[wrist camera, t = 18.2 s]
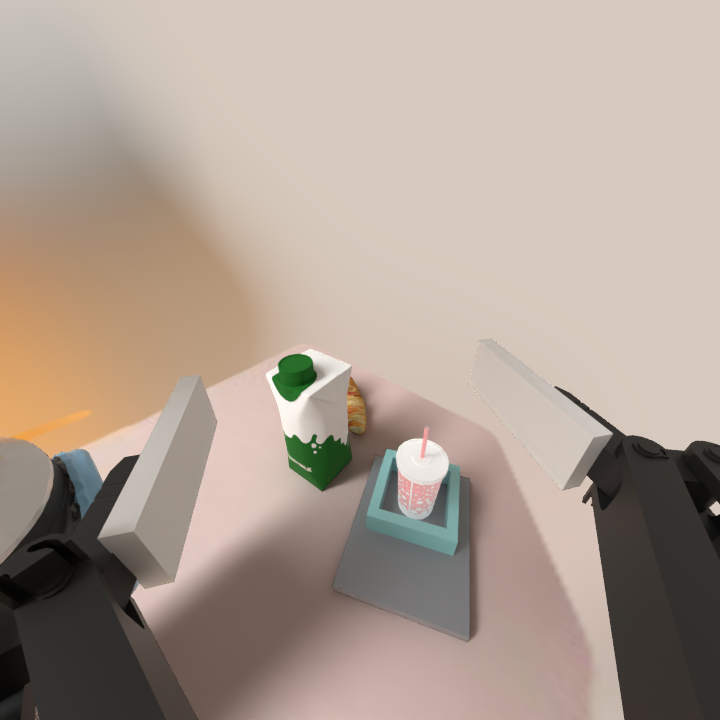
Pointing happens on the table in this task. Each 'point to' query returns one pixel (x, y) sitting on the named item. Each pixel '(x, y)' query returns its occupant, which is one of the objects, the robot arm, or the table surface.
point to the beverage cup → (420, 475)
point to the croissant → (355, 409)
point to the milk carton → (313, 413)
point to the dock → (411, 552)
